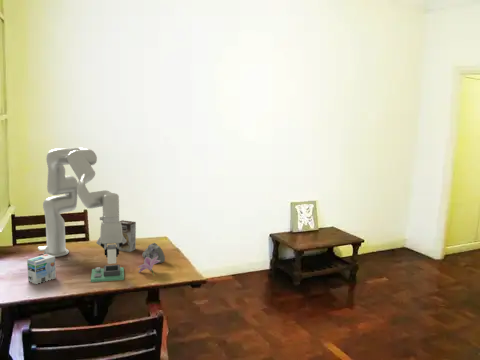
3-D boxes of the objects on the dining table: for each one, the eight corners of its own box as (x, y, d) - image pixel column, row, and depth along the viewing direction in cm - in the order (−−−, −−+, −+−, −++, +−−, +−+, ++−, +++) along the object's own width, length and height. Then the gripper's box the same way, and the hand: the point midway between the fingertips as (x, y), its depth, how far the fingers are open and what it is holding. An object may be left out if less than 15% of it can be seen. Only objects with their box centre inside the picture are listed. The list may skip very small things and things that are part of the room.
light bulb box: (36, 285, 215) (35, 262, 213) (27, 281, 218) (26, 259, 216) (56, 277, 224) (55, 256, 222) (47, 274, 227) (46, 253, 225)
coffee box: (116, 250, 266) (115, 222, 263) (122, 246, 272) (121, 219, 270) (130, 252, 264) (130, 224, 261) (136, 248, 270) (136, 221, 267)
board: (90, 282, 220) (90, 274, 219) (92, 271, 233) (92, 264, 232) (124, 279, 224) (123, 272, 223) (123, 269, 237) (123, 262, 236)
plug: (107, 263, 225) (107, 247, 223) (107, 260, 229) (107, 244, 228) (116, 263, 226) (116, 247, 224) (116, 259, 230) (116, 244, 229)
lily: (164, 272, 238) (158, 254, 239) (165, 271, 227) (158, 252, 228) (141, 281, 235) (135, 262, 237) (140, 280, 224) (134, 261, 225)
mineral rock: (141, 257, 256) (141, 239, 254) (161, 255, 259) (161, 238, 258) (145, 265, 244) (145, 246, 242) (165, 263, 247) (165, 245, 246)
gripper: (92, 222, 218) (93, 260, 221) (129, 220, 223) (130, 257, 226) (93, 218, 226) (94, 254, 229) (128, 216, 230) (129, 252, 233)
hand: (111, 255), depth 227 cm, fingers closed on plug, 4 cm apart
